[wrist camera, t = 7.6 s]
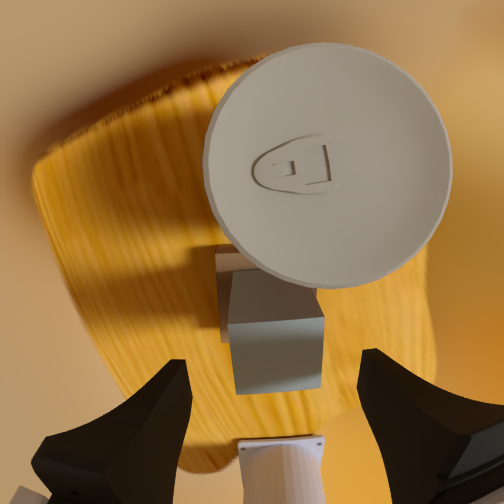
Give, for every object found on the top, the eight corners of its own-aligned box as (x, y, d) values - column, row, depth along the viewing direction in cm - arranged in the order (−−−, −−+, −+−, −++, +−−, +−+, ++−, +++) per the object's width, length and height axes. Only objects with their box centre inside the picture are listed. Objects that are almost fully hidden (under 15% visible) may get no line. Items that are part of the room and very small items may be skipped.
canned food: (207, 136, 19) (155, 106, 8) (323, 85, 18) (394, 15, 7) (261, 244, 20) (271, 332, 10) (372, 193, 19) (477, 229, 9)
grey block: (302, 325, 20) (320, 387, 14) (239, 330, 20) (236, 394, 14) (302, 266, 18) (324, 316, 13) (233, 271, 19) (227, 324, 13)
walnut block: (307, 321, 22) (313, 339, 20) (224, 324, 22) (221, 342, 20) (310, 240, 21) (318, 251, 18) (219, 243, 21) (215, 253, 18)
